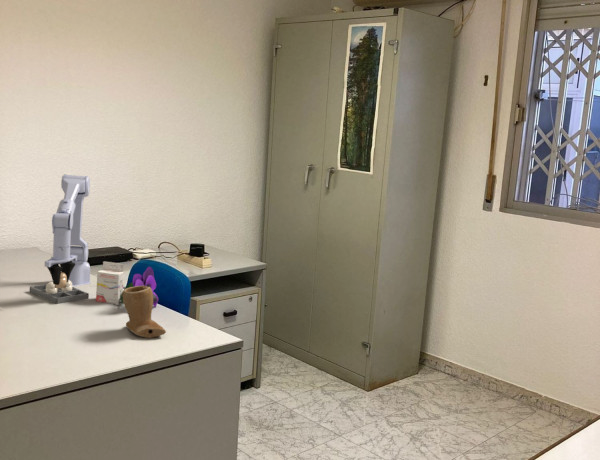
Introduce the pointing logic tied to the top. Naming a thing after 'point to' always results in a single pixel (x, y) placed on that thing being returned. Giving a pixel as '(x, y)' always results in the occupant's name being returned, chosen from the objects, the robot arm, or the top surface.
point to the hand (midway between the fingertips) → (60, 283)
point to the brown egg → (62, 281)
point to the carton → (59, 294)
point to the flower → (144, 283)
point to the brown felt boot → (141, 312)
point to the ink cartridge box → (110, 283)
